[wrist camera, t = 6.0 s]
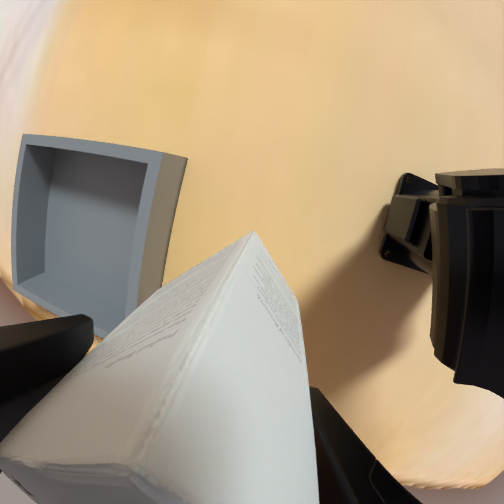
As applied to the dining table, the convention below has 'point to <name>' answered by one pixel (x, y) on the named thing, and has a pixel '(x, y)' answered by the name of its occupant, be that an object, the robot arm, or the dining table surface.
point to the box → (91, 225)
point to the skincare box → (182, 400)
